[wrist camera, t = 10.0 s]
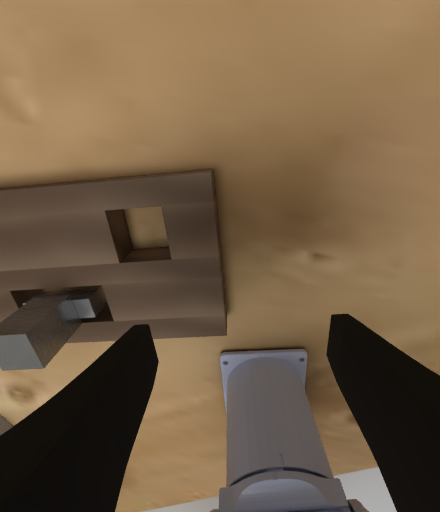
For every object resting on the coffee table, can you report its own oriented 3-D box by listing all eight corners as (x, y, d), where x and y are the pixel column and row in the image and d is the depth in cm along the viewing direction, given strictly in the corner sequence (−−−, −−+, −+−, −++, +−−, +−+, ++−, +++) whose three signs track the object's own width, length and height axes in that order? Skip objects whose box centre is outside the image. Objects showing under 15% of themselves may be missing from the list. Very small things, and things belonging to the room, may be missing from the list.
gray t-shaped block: (115, 299, 20) (63, 367, 14) (60, 303, 21) (-16, 371, 14) (106, 273, 19) (45, 332, 13) (48, 277, 20) (-39, 337, 13)
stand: (226, 315, 20) (226, 335, 18) (31, 325, 22) (8, 345, 19) (213, 169, 16) (210, 171, 13) (-36, 192, 17) (-78, 197, 15)
